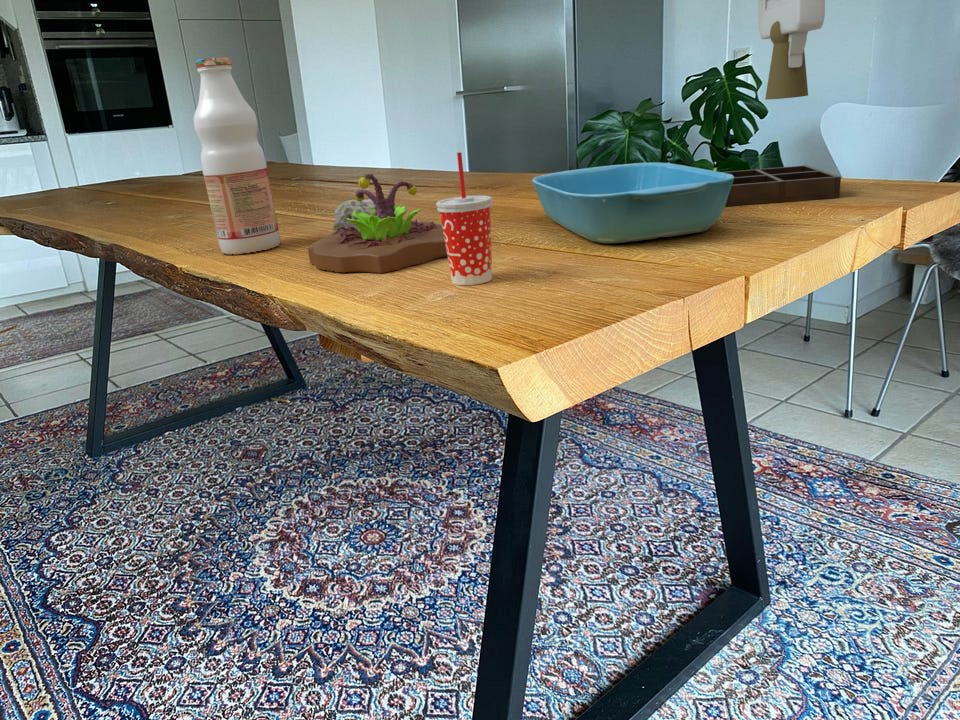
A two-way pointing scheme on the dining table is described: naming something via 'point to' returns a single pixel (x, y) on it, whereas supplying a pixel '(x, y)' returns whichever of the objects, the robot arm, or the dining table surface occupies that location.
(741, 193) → the compartment tray
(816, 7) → the robot arm
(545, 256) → the dining table surface
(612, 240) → the casserole dish
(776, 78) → the cork
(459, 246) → the beverage cup
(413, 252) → the plant
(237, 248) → the fruit juice
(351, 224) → the decorative stone
